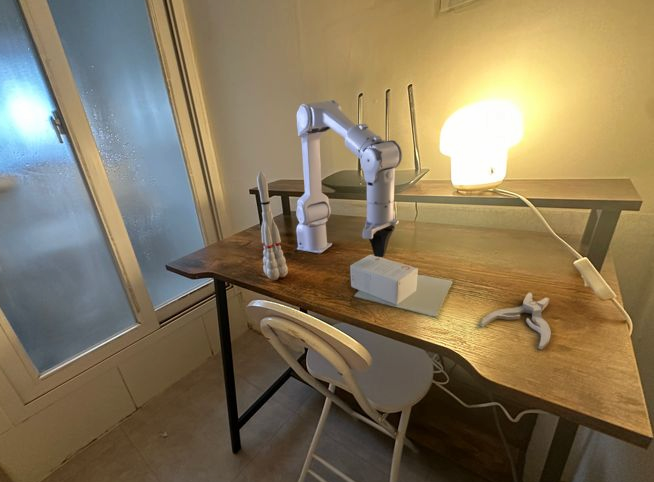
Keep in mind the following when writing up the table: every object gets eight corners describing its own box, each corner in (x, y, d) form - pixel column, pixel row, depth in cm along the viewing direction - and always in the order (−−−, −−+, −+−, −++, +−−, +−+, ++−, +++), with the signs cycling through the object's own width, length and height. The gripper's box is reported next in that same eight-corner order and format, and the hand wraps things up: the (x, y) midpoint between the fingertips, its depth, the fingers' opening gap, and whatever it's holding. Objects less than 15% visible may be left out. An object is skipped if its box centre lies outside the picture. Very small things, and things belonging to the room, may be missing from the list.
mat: (354, 296, 73) (354, 295, 73) (379, 268, 84) (379, 267, 83) (435, 317, 62) (435, 316, 62) (452, 281, 73) (452, 280, 73)
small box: (350, 287, 76) (396, 306, 67) (349, 264, 74) (397, 281, 64) (370, 275, 80) (416, 291, 71) (370, 253, 78) (418, 267, 68)
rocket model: (292, 271, 89) (279, 166, 76) (284, 284, 83) (268, 172, 70) (269, 270, 91) (253, 168, 78) (260, 282, 85) (240, 174, 72)
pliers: (480, 318, 58) (510, 287, 65) (478, 325, 58) (509, 293, 66) (545, 342, 50) (571, 304, 58) (543, 350, 51) (569, 310, 59)
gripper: (386, 211, 60) (384, 271, 66) (409, 192, 70) (406, 246, 75) (353, 209, 64) (354, 266, 70) (379, 191, 74) (378, 242, 80)
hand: (379, 255), depth 73 cm, fingers closed
